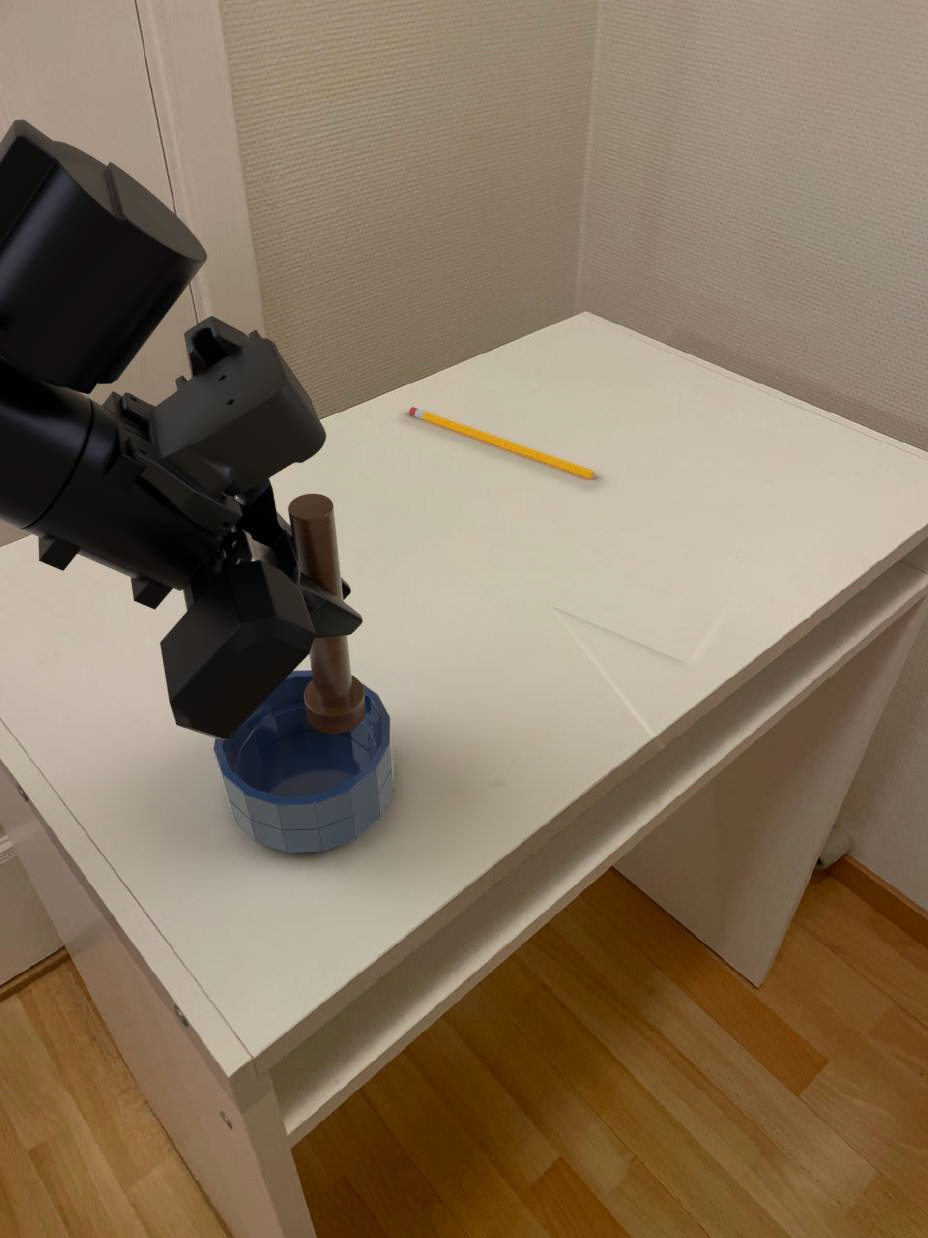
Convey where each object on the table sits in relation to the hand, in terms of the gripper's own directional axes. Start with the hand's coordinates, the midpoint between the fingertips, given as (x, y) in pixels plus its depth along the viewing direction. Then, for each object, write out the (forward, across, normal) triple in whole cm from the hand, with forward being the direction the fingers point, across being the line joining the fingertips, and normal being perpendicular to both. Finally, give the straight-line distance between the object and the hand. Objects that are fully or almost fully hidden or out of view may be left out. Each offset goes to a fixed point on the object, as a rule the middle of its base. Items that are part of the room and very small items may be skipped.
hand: (351, 610), depth 47 cm
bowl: (+7, 0, +11) cm, 13 cm away
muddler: (+4, 0, +6) cm, 7 cm away
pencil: (+23, +30, -5) cm, 38 cm away
